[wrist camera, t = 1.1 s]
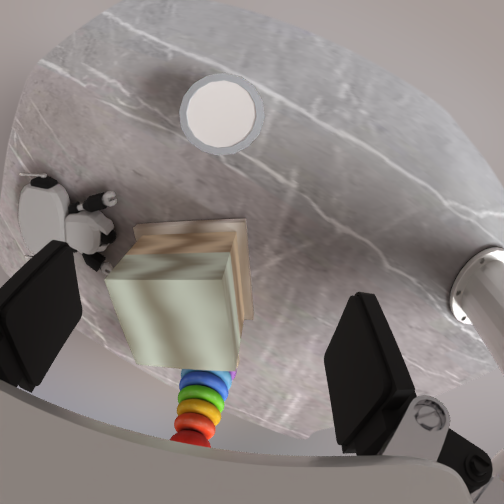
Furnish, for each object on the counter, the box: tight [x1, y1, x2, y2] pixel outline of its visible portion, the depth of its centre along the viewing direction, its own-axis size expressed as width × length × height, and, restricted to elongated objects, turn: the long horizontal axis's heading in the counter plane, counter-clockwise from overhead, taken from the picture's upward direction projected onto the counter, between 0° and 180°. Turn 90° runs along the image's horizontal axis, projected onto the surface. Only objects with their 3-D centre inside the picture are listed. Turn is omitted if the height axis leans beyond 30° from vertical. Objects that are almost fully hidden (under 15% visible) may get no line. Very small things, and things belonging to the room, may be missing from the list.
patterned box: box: [104, 218, 254, 371], centre depth 32 cm, size 13×13×11 cm
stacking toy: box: [170, 355, 239, 448], centre depth 35 cm, size 8×8×19 cm
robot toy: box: [18, 173, 117, 276], centre depth 34 cm, size 12×4×15 cm
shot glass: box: [179, 73, 265, 156], centre depth 25 cm, size 7×7×7 cm
